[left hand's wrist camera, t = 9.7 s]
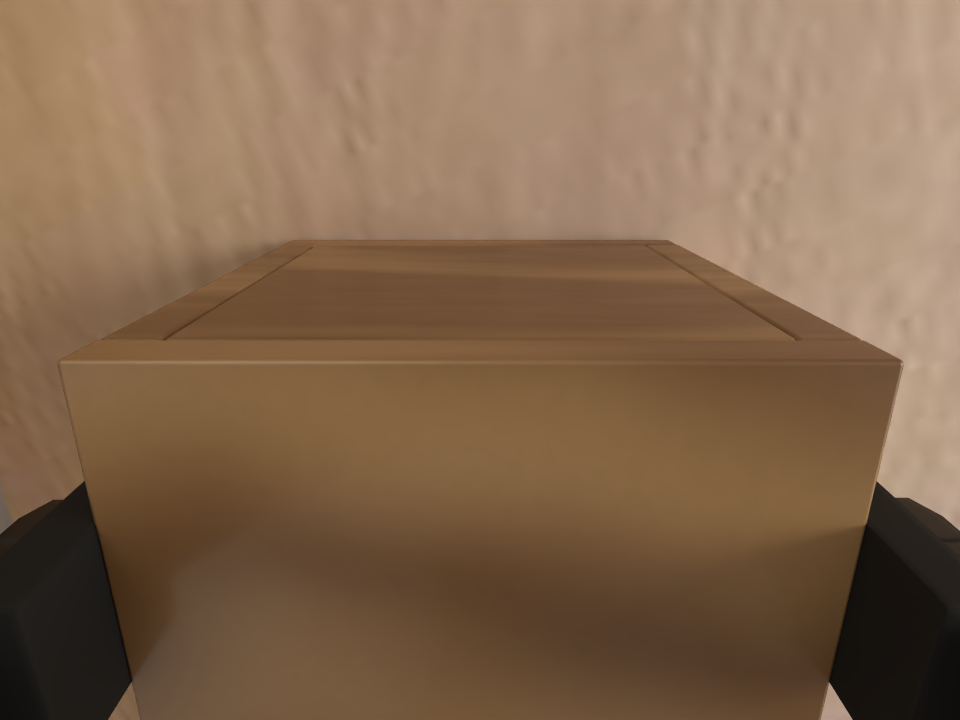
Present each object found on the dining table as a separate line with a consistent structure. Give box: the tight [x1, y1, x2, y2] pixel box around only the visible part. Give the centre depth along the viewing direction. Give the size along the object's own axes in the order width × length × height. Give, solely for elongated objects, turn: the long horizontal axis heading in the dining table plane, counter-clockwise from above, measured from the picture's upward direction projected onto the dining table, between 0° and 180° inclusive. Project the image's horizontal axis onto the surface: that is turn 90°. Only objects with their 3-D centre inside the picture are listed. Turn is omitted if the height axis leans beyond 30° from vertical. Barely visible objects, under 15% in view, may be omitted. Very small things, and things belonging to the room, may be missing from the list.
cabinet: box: [58, 240, 903, 720], centre depth 15 cm, size 19×10×10 cm, turn 0°
